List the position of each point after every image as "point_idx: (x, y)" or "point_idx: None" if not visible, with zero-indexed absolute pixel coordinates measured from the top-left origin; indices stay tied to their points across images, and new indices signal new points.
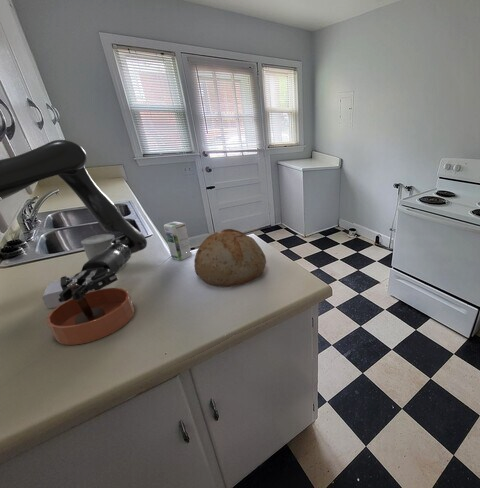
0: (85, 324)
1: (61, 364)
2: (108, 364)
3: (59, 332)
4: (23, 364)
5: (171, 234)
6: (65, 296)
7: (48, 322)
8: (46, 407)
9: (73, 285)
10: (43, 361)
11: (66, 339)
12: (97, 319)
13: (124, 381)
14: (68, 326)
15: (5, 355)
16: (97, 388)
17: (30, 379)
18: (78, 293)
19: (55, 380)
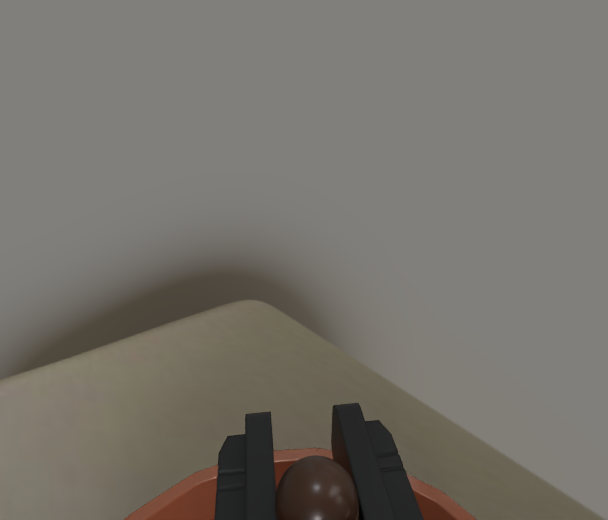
0: (210, 470)
1: (275, 426)
2: (114, 414)
3: None
4: (415, 436)
5: None
6: (334, 436)
7: (443, 500)
8: (221, 326)
9: (299, 461)
10: None
11: None
12: (153, 501)
13: (59, 363)
14: (289, 454)
15: (553, 486)
16: (125, 352)
17: (327, 385)
18: (231, 441)
19: (250, 377)
